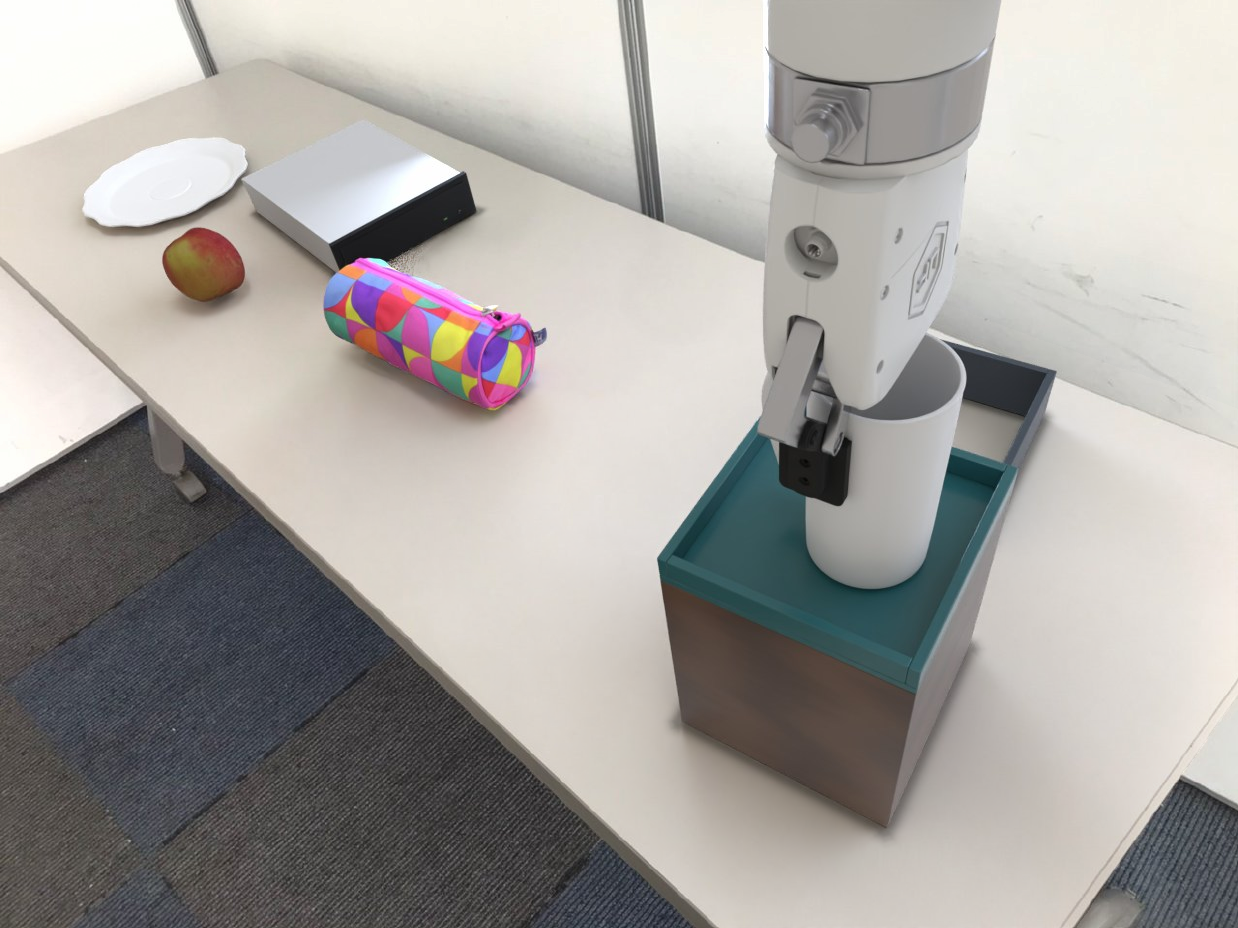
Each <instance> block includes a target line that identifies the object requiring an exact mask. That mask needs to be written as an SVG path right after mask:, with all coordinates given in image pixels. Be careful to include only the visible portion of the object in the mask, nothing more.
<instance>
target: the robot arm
mask: <svg viewBox="0 0 1238 928" xmlns="http://www.w3.org/2000/svg"><path fill="white" fill-rule="evenodd" d="M762 1H763V4H762V5H763V72H764V76H763V77H764V78H763V79H764V81H763V82H764V134H765V139H766V141H767V143H768V145H769V147H770V148H771V149H772V150H773V151H774V153H775V154H776V156H775V160H774V165H773V173H772V179H771V180H772V181H771V187H770V197H769V206H768V207H769V208H768V217H767V226H766V227H767V228H766V238H765V239H766V240H765V254H764V268H763V269H764V270H763V289H762V290H763V291H762V342H763V355H764V361H765V363H764V364H765V368H766V371H767V373H768V374H769V376H770V377H771V379H772V380H773V383H772V386H771V389H770V392H769V395H768V397H767V400H766V403H765V406H764V409H763V410H762V412H761V414H760V415H761V417H760V416H759V417H760V420H759V423H758V427H757V433H758V435H761V436H764V437H767V438H769V439H772V440H775V441H778V442H779V482H780V483H781V485H782V486H784V487H786V488H788V489H791V490H793V491H795V492H796V493H799V494H801V495H803V496H806V497H809V498H815V499H818V500H820V501H823V502H826V503H829V504H831V505H834V506H841V505H842V504H843V503H844V501H845V500H846V498H847V495H848V483H849V471H850V460H851V448H852V441H851V440H849V439H848V438H846V437H844V435H845V431H846V427H847V423H848V419H849V415H850V411H851V407H855V408H857V409H860V410H865V409H868V408H870V407H872V406H874V405H875V404H877V403H878V402H879V401H881V400H882V399H883V398H884V397H885V395H886V394H887V393H888V391H889V390H890V389H891V387H892V386H893V384H894V383H895V381H896V379H897V378H898V376H899V375H900V373H901V372H902V370H903V369H904V367H905V365H906V364H907V362H908V361H909V359H910V358H911V356H912V355H913V353H914V351H915V350H916V348H917V347H918V345H919V343H920V342H921V340H922V339H923V337H924V335H925V334H926V333H928V331H929V329H930V327H931V325H932V324H933V322H934V320H935V319H936V317H937V316H938V314H939V312H940V310H942V307H943V305H944V303H945V301H946V300H947V298H948V296H949V293H950V291H951V289H952V285H953V283H954V279H955V273H956V268H957V262H958V261H957V259H958V251H959V244H960V243H959V242H960V234H961V227H962V218H963V217H962V216H963V207H964V199H965V189H966V181H967V167H968V155H969V149H970V148H971V147H972V146H973V144H974V142H975V141H976V140H977V139H978V136H979V134H980V131H981V126H982V119H983V112H984V107H985V102H986V96H987V89H988V84H989V77H990V73H991V65H992V60H993V54H994V49H995V48H994V47H995V43H996V35H997V28H998V22H999V16H1000V11H1001V4H1002V0H762ZM822 360H823V365H824V368H825V371H826V373H825V372H822V371H819V368H820V366H821V363H822ZM811 391H813V392H816V393H819V394H822V395H825V396H829V397H832V398H833V401H832V405H831V409H830V413H829V417H828V421H827V423H824V422H821V421H818V420H815V419H812V418H809V417H806V416H804V413H805V408H806V405H807V402H808V399H809V396H810V394H811Z"/></svg>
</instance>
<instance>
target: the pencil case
mask: <svg viewBox="0 0 1238 928" xmlns="http://www.w3.org/2000/svg"><path fill="white" fill-rule="evenodd" d="M322 305H323V315H324V319H325V322H326V324H327V326H328V329H329V330H330V331H331V333H332V334H333V335H335V336H336V337H337V338H339V339H341V340H343V341H346V342H348V343H350V344H352V345H355V346H357V347H359V348H361V349H362V350H364V351H365V352H367V353H369V354H371V355H373V356H374V357H377V358H379V359H381V360H383V361H386V362H387V363H388V364H390V365H391V366H393V367H396V368H398V369H400V370H402V371H405V372H407V373H409V374H411V375H413V376H415V377H416V378H419V379H420V380H423V381H426V382H428V383H430V384H432V385H434V386H436V387H438V388H439V389H441V390H443V391H445V392H447V393H449V394H451V395H453V396H454V397H456V398H458V399H461V400H462V401H465V402H467V403H470V404H474V405H477V406H479V407H481V408H483V409H485V410H488V411H497V410H499V409H501V408H502V407H503V406H504V405H506V403H508V402H509V401H510V400H511V399H513V398H514V397H516V395H517V394H518V393H519V392H520V391H521V390H523V388H524V387H525V386H526V385H527V383H528V382H529V380H530V378H531V376H532V373H533V370H534V367H535V362H536V361H535V360H536V348H537V347H540V346H541V345H542V344H544V343H545V342H547V338H548V331H547V327H543V328H541V329H540V330H537V331H534V328H533V327H532V326H531V323H530V322H529V321H528V320H527V319H525V318H524V317H522V314H521V313H520V312H517V313H516V314H514V313H511V312H506V311H500V310H497V309H498V308H499V305H498V304H496V305H488V306H485V307H482V306H480V305H479V304H476V303H475V302H473V301H471V300H469V299H467V298H465V297H463V296H460V295H459V294H457V293H455V292H453V291H452V290H449V289H447V288H445V287H443V286H441V285H439V284H436V283H434V282H431V281H430V280H426V279H424V278H420V277H417V276H413V275H411V274H408V273H406V272H405V273H404V272H402V271H400V270H398V269H396V268H394V267H392V266H390V264H389V263H388V262H385V261H383V260H381V259H373V258H366V259H363V258H359V259H357V260H355V263H353V264H350V265H347V266H345V267H344V268H342V269H341V270H340V271H338V272H337V273H336V272H335V274H334V275H332V277H331V278H330V279H329V281H328V283H327V285H326V287H325V290H324V294H323V304H322Z"/></svg>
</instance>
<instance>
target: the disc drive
mask: <svg viewBox="0 0 1238 928" xmlns="http://www.w3.org/2000/svg"><path fill="white" fill-rule="evenodd" d="M241 181H242V184H243V186H244V189H245V190H246V192H247V194H248V196H249V199H250V200H251V203H252V205H253V207H254V209H255V211H256V213H258V214H259V215H261V216H262V217H263V218H265V220H267V221H269V222H270V223H271V224H272V225H274V226H275V227H276V228H278V229H279V230H280V231H281V232H283V234H285V235H286V236H288V237H289V238H291V239H292V240H293V241H294V242H295V243H297V244H298V245H300V246H301V247H302V248H304V249H305V250H306V251H307V252H308V253H310V254H311V255H313V257H315V258H317V259H318V260H319V261H320V262H321V263H323V264H325V266H327V267H328V268H330V269H331V270H332V271H333V272H335V274H336V273H337V272H338V271H340V270H341V269H342V268H344V267H345V266H347V265H350V264H353V263H355V260H357V259H359V258H363V259H366V258H373V259H381V260H383V261H385V262H386V263H388V262H389V261H391V260H393V259H395V258H397V257H398V256H400V255H402V254H404V253H405V252H407V251H409V250H410V249H412V248H414V247H416V246H418V245H419V244H422V243H423V242H425V241H427V240H428V239H430V238H432V237H433V236H435V235H438V234H439V233H441V232H443V231H444V230H446V229H448V228H450V227H451V226H453V225H455V224H456V223H458V222H460V221H462V220H464V219H466V218H468V217H470V216H471V215H473V214H474V213H476V212H477V207H476V203H475V199H474V196H473V192H472V189H471V184H470V181H469V177H468V174H467V172H466V171H464V170H463V171H461V172H459V170H455V169H454V168H452V167H450V166H449V165H447V164H445V163H443V162H442V161H440V160H439V159H436V158H435V157H433V156H431V155H430V154H428V153H425V151H423V150H420V149H418V148H417V147H415V146H413V145H411V144H410V143H408V142H406V141H404V140H402V139H401V138H399V137H398V136H396V135H393V134H392V133H390V132H388V131H386V130H385V129H383V128H381V127H379V126H378V125H375V124H374V123H372V122H370V121H368V120H367V119H365V118H362V119H360V120H357V121H356V122H354V123H352V124H349V125H348V126H345V127H344V128H342V129H340V130H337V131H336V132H334V133H331V134H329V135H327V136H326V137H323V138H321V139H319V140H317V141H315V142H313V143H311V144H308V145H307V146H305V147H303V148H301V149H299V150H296V151H295V152H293V153H291V154H288V155H286V156H284V157H283V158H280V159H278V160H276V161H274V162H272V163H270V164H268V165H266V166H264V167H262V168H260V169H258V170H255V171H254V172H252V173H250V174H247V175H245V176H244V177H241Z"/></svg>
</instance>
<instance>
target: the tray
mask: <svg viewBox="0 0 1238 928" xmlns="http://www.w3.org/2000/svg"><path fill="white" fill-rule="evenodd" d="M804 416H806V417H807V405H806V408H805V413H804ZM760 417H761V414H760V415H759V416H758V418H757V419H756V421H755V422H754V424H753V425H752V426H751V428H750V429H749V430H748V432H747V433H746V434H745V436H744V437H743V438H742V440H741V442H739V444H738V446H736V448H735V449H734V451H733V452H732V454H731V455H730V457H729V458H728V459H727V461H726V462H725V463H724V465H723V466H722V467H721V469H720V470H719V471H718V473H717V474H716V475H715V477H714V478H713V480H712V481H711V482H710V484H709V486H708V487H707V488H706V489H705V491H704V493H703V494H702V495H701V496H700V497H699V499H698V500H697V502H696V503H695V504H694V506H693V508H692V509H691V510H690V512H689V513H688V514H687V516H686V517H685V518H684V520H683V521H682V522H681V524H680V525H679V527H678V528H677V529H676V531H675V532H674V534H673V535H672V536H671V538H670V539H669V541H668V542H667V543H666V545H665V546H664V548H662V550H661V552H660V553H659V555H658V556H657V557H656V562H657V568H658V574H659V581H660V580H662V581H664V582H666V583H668V584H670V585H673V586H675V587H677V588H679V589H682V590H684V591H686V592H688V593H691V594H693V595H695V596H697V597H699V598H702V599H704V600H706V601H708V602H711V603H713V604H715V605H717V606H720V607H722V608H724V609H726V610H728V611H731V612H733V613H735V614H737V615H740V616H742V617H744V618H746V619H748V620H751V621H753V622H755V623H757V624H760V625H762V626H764V627H766V628H769V629H771V630H773V631H775V632H777V633H780V634H782V635H784V636H786V637H789V638H791V639H793V640H795V641H798V642H800V643H802V644H804V645H806V646H809V647H811V648H813V649H815V650H818V651H820V652H822V653H824V654H827V655H829V656H831V657H833V658H835V659H838V660H840V661H842V662H844V663H847V664H849V665H851V666H853V667H856V668H858V669H860V670H862V671H864V672H867V673H869V674H871V675H873V676H876V677H878V678H880V679H882V680H885V681H887V682H889V683H891V684H893V685H896V686H898V687H900V688H902V689H905V690H907V691H909V692H911V693H913V694H917V692H918V690H919V688H920V686H921V684H922V682H923V679H924V677H925V675H926V673H927V671H928V669H929V667H930V665H931V663H932V660H933V658H934V656H935V654H936V652H937V650H938V648H939V646H940V643H941V641H942V639H943V637H944V635H945V633H946V631H947V629H948V627H949V624H950V622H951V620H952V618H953V616H954V614H955V612H956V610H957V608H958V605H959V603H960V601H961V599H962V597H963V595H964V593H965V591H966V589H967V586H968V584H969V582H970V580H971V578H972V576H973V574H974V572H975V570H976V567H977V565H978V563H979V561H980V559H981V557H982V555H983V553H984V550H985V548H986V546H987V544H988V542H989V540H990V538H991V536H992V534H993V531H994V529H995V527H996V525H997V523H998V521H999V519H1000V517H1001V515H1002V512H1003V510H1004V508H1005V506H1006V504H1007V502H1008V500H1009V498H1010V496H1011V497H1012V495H1011V493H1012V494H1013V490H1014V486H1015V484H1016V480H1017V476H1018V473H1019V470H1018V468H1017V467H1014V466H1011V465H1007V464H1005V463H1003V462H1002V461H998V460H995V459H993V458H990V457H986V456H983V455H980V454H977V453H975V452H970V451H967V450H965V449H961V448H958V447H955V446H952V447H951V451H950V456H949V460H948V464H947V469H946V473H945V477H944V482H943V486H942V491H941V495H940V499H939V504H938V509H937V513H936V518H935V522H934V527H933V531H932V535H931V538H930V542H929V546H928V550H927V554H926V557H925V560H924V562H923V564H922V565H921V567H920V568H919V570H918V571H917V572H916V573H915V574H914V575H913V576H911V577H910V578H909V579H907V580H906V581H904V582H902V583H900V584H897V585H894V586H891V587H887V588H881V589H862V588H856V587H852V586H848V585H845V584H842V583H840V582H838V581H836V580H834V579H832V578H831V577H829V576H828V575H826V574H825V573H824V572H823V571H821V570H820V569H819V568H818V566H817V565H816V564H815V563H814V561H813V560H812V558H811V556H810V554H809V551H808V548H807V543H806V496H803V495H801V494H799V493H796V492H795V491H793V490H791V489H788V488H786V487H784V486H782V485H781V483H780V482H779V464H778V461H777V458H776V455H775V452H774V449H773V446H772V443H771V440H770V439H769V438H767V437H764V436H761V435H758V433H757V427H758V423H759V420H760ZM1010 499H1011V498H1010Z"/></svg>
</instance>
